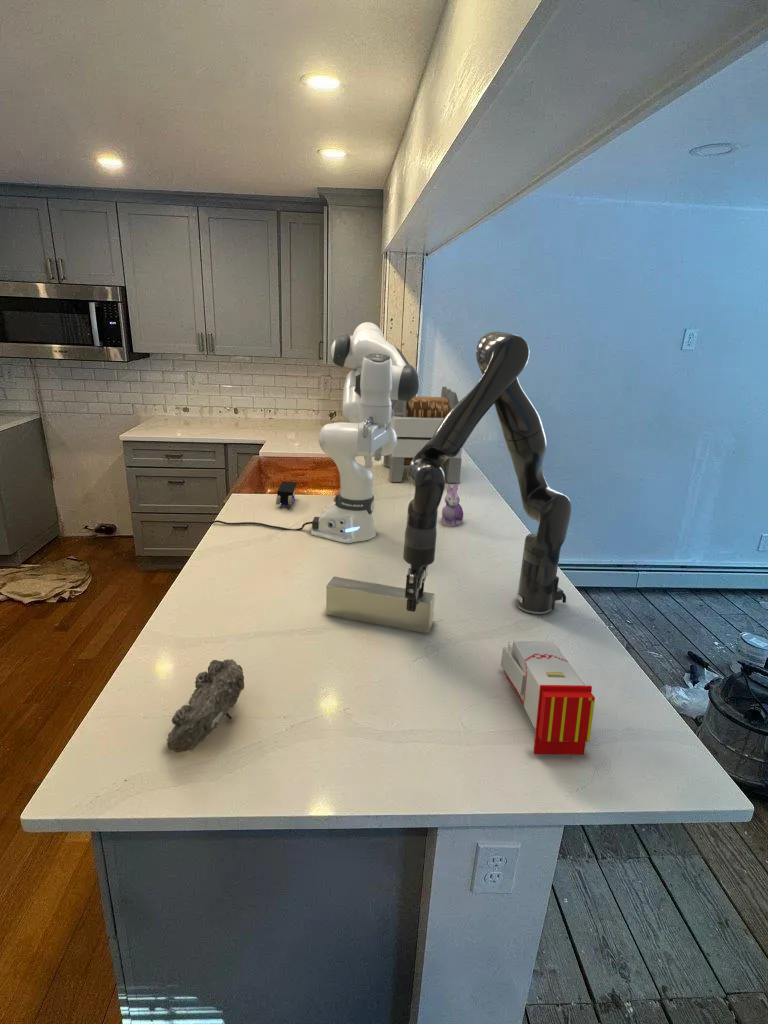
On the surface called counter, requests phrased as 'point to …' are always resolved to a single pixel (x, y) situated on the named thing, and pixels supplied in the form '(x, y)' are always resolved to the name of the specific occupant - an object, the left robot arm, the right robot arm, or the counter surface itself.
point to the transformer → (420, 432)
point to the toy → (550, 696)
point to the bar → (378, 604)
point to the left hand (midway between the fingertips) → (373, 463)
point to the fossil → (206, 705)
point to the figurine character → (286, 494)
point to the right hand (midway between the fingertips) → (415, 602)
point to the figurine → (452, 507)
